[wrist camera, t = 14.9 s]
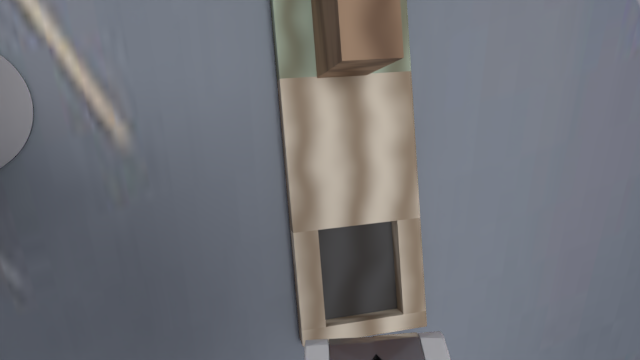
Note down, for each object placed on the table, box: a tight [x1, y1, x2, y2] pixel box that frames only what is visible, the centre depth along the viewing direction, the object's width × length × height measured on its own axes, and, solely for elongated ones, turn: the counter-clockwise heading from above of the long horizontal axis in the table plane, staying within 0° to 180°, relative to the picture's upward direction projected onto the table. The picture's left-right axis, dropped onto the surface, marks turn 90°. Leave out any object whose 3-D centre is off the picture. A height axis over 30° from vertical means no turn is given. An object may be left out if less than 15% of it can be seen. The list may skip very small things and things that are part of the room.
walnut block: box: [311, 0, 404, 78], centre depth 50 cm, size 6×14×12 cm, turn 5°
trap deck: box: [270, 0, 427, 347], centre depth 58 cm, size 16×62×2 cm, turn 5°
